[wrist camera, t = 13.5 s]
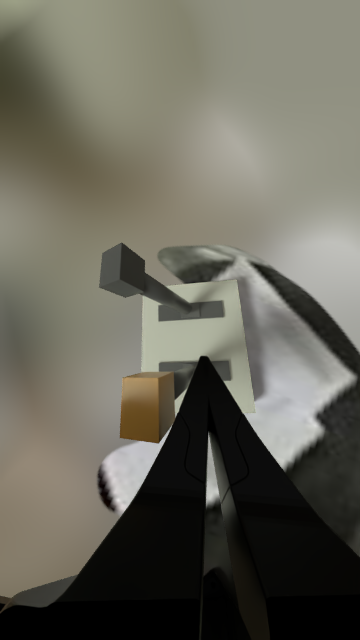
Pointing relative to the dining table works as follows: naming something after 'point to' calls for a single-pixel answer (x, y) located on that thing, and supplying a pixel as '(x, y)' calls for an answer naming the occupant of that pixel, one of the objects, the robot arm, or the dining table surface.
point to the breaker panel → (184, 323)
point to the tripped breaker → (151, 403)
